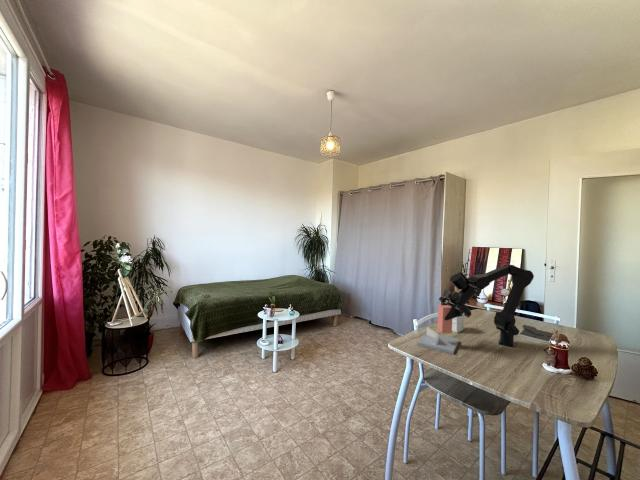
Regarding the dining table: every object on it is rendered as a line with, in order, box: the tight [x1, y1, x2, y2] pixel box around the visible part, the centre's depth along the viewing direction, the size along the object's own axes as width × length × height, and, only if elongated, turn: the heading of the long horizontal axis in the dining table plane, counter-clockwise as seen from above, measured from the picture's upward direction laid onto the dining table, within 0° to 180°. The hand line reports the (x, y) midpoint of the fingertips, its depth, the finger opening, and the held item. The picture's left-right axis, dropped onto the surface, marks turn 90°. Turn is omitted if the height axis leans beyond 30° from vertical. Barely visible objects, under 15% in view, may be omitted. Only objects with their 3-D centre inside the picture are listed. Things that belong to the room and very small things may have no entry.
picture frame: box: [514, 324, 555, 345], centre depth 147 cm, size 16×3×21 cm
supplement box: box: [452, 313, 465, 334], centre depth 154 cm, size 7×7×13 cm
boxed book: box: [437, 304, 453, 334], centre depth 131 cm, size 5×4×12 cm
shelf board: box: [416, 331, 460, 355], centre depth 134 cm, size 18×16×2 cm
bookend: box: [426, 326, 440, 345], centre depth 134 cm, size 10×1×5 cm, turn 3°
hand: (442, 318), depth 131 cm, fingers closed on boxed book, 4 cm apart
